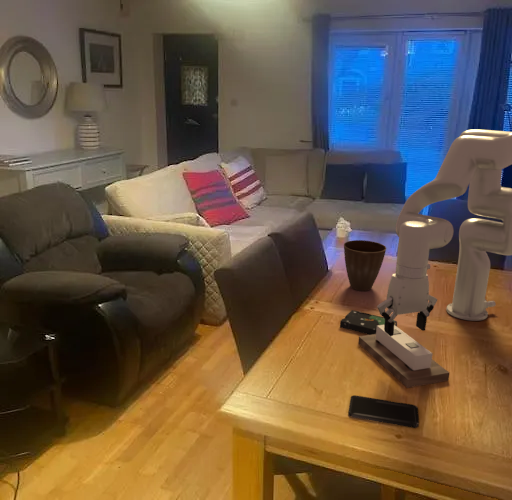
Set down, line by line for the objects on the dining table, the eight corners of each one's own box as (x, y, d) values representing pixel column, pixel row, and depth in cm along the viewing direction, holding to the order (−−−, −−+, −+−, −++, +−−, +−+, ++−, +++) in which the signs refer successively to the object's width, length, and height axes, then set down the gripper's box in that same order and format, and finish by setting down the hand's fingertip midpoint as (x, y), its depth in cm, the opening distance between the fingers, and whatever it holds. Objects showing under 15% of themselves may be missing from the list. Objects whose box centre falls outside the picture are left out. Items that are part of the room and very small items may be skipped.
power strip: (390, 344, 147) (392, 322, 145) (429, 376, 130) (432, 352, 128) (374, 346, 145) (376, 324, 143) (412, 379, 129) (415, 355, 127)
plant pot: (387, 285, 191) (392, 244, 187) (373, 298, 179) (377, 254, 175) (350, 277, 199) (353, 237, 194) (334, 289, 187) (337, 247, 182)
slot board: (358, 343, 147) (358, 336, 146) (394, 338, 150) (395, 331, 150) (407, 387, 125) (408, 379, 124) (448, 380, 129) (449, 372, 128)
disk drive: (339, 329, 157) (387, 341, 150) (339, 321, 156) (388, 332, 149) (351, 317, 165) (397, 327, 158) (351, 309, 164) (397, 319, 157)
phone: (419, 425, 110) (348, 413, 113) (418, 430, 110) (347, 417, 114) (417, 405, 117) (351, 394, 121) (417, 409, 117) (350, 398, 121)
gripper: (430, 262, 136) (424, 320, 142) (373, 268, 131) (368, 329, 136) (449, 271, 130) (441, 332, 135) (389, 279, 124) (383, 342, 130)
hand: (404, 331), depth 136 cm, fingers open, 9 cm apart
